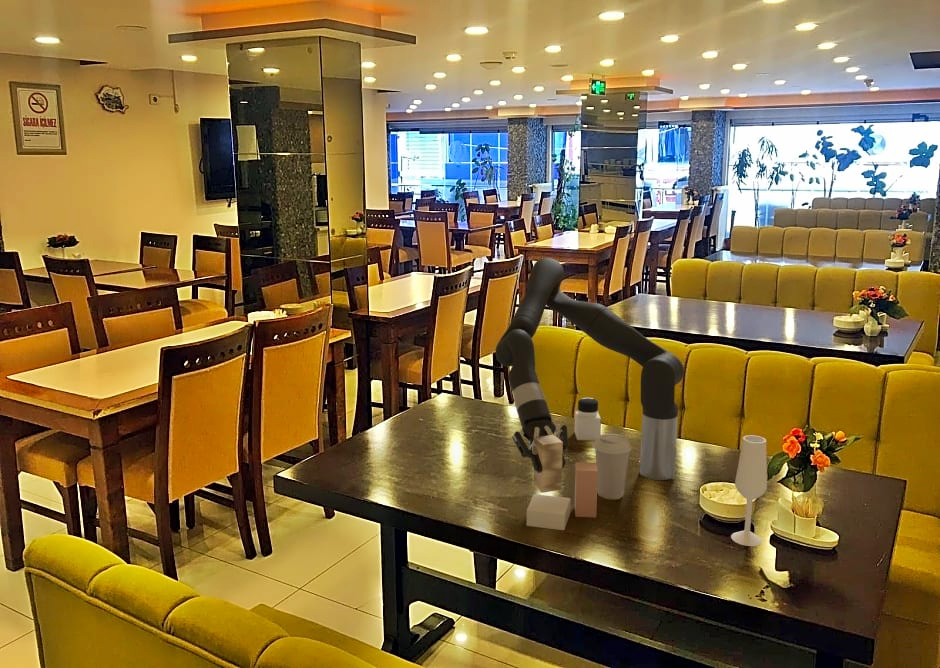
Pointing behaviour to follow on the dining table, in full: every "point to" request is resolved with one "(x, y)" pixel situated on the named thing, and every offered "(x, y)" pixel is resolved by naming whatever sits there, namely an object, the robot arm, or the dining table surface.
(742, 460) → the champagne flute
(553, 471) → the maple pillar
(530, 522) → the plinth
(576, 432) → the medicine bottle
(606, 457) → the coffee cup
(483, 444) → the dining table surface
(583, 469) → the terracotta pillar
